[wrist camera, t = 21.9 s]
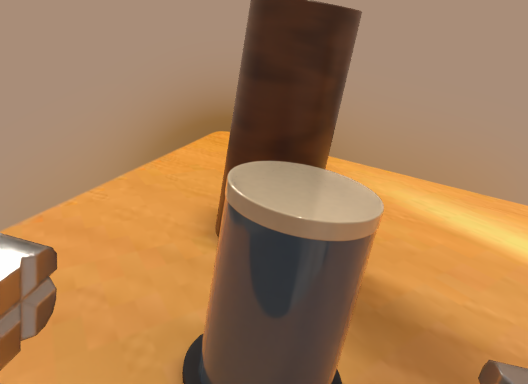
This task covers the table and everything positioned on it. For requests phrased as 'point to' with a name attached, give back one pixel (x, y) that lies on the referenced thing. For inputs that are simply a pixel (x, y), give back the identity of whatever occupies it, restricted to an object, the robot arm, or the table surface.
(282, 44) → the stand
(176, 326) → the table surface
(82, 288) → the table surface
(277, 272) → the tumbler
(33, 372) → the table surface
